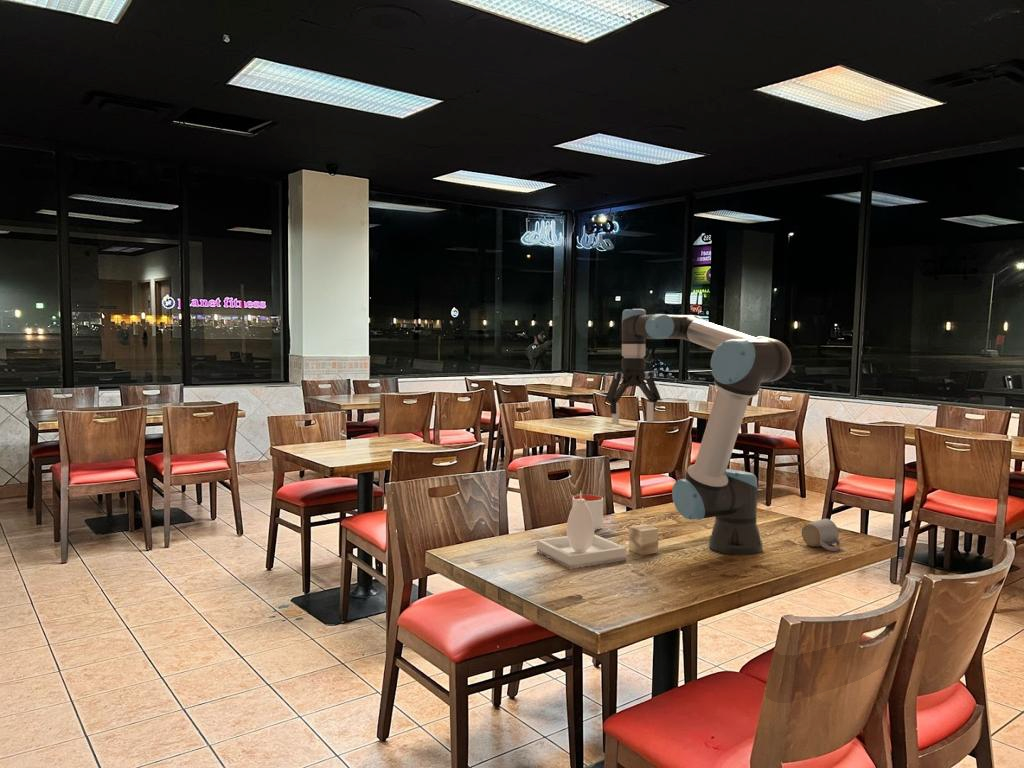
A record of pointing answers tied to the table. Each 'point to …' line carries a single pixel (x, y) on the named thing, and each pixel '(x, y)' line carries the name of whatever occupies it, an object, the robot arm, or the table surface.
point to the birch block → (643, 539)
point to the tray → (595, 555)
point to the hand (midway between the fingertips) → (632, 423)
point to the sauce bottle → (580, 526)
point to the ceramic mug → (821, 534)
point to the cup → (593, 508)
